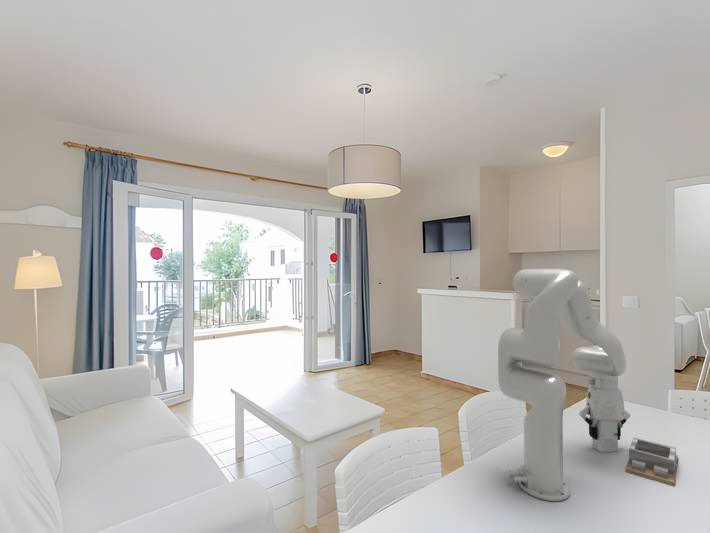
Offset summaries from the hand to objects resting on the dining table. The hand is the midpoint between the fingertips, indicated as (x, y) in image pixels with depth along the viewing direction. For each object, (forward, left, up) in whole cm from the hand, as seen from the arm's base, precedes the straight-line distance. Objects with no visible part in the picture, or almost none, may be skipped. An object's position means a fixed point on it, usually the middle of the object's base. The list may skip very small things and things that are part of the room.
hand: (604, 437), depth 124 cm
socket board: (+8, -10, -4) cm, 13 cm away
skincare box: (0, 0, -4) cm, 4 cm away
